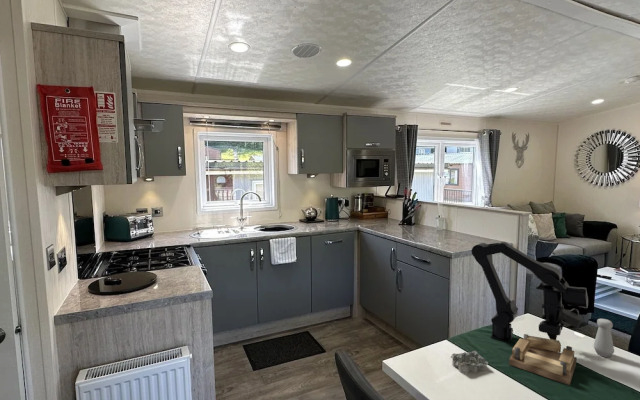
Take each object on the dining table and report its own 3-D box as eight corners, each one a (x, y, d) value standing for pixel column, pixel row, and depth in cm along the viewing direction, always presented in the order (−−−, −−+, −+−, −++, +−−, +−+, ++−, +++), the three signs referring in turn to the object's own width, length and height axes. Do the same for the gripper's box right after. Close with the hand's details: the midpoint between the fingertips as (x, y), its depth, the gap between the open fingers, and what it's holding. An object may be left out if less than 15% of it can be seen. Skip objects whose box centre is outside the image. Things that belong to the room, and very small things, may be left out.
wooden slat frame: (508, 364, 114) (509, 348, 114) (521, 346, 127) (521, 331, 126) (569, 385, 103) (570, 367, 102) (576, 362, 115) (577, 346, 115)
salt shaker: (618, 359, 117) (619, 324, 116) (599, 358, 118) (601, 322, 117) (607, 351, 123) (608, 317, 122) (589, 349, 124) (591, 316, 123)
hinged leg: (524, 345, 123) (524, 336, 123) (522, 342, 125) (523, 333, 125) (560, 352, 118) (561, 342, 118) (558, 348, 121) (559, 339, 120)
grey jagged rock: (461, 375, 109) (461, 363, 109) (448, 362, 116) (448, 351, 116) (490, 371, 111) (490, 359, 111) (475, 359, 118) (475, 348, 118)
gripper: (577, 315, 109) (578, 361, 110) (582, 298, 123) (583, 338, 123) (537, 308, 116) (539, 351, 117) (546, 293, 130) (547, 331, 131)
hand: (553, 342), depth 122 cm, fingers closed
